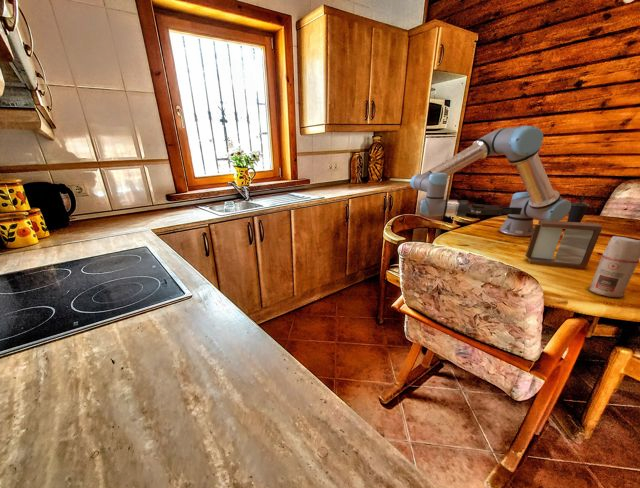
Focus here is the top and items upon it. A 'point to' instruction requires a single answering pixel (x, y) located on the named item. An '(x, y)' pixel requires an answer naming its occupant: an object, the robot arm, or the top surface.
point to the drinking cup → (577, 211)
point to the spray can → (616, 267)
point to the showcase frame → (572, 244)
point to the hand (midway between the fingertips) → (520, 211)
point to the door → (543, 242)
